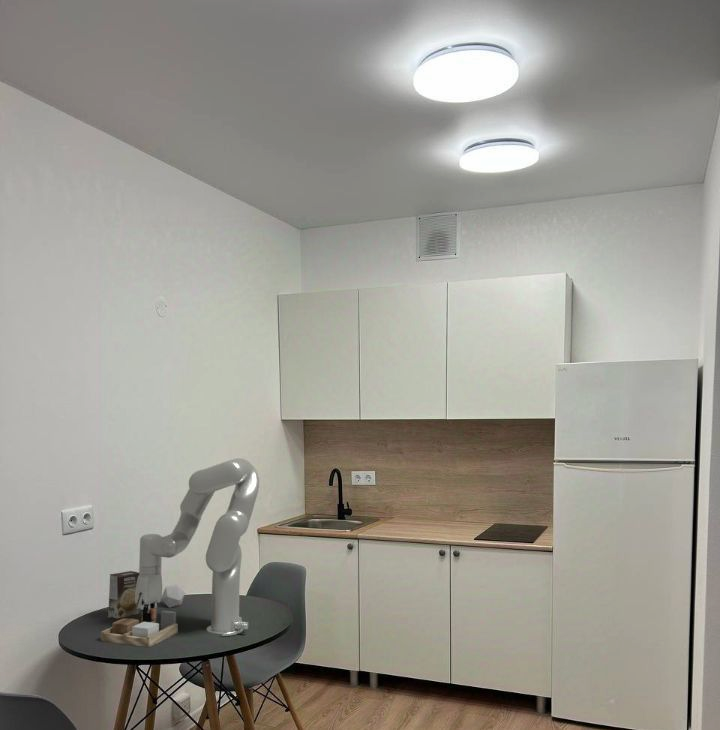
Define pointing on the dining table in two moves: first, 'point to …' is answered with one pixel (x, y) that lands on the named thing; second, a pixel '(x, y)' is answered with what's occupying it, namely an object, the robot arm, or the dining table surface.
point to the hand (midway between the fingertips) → (148, 622)
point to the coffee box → (122, 594)
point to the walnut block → (129, 623)
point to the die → (173, 596)
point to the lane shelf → (139, 641)
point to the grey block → (154, 625)
